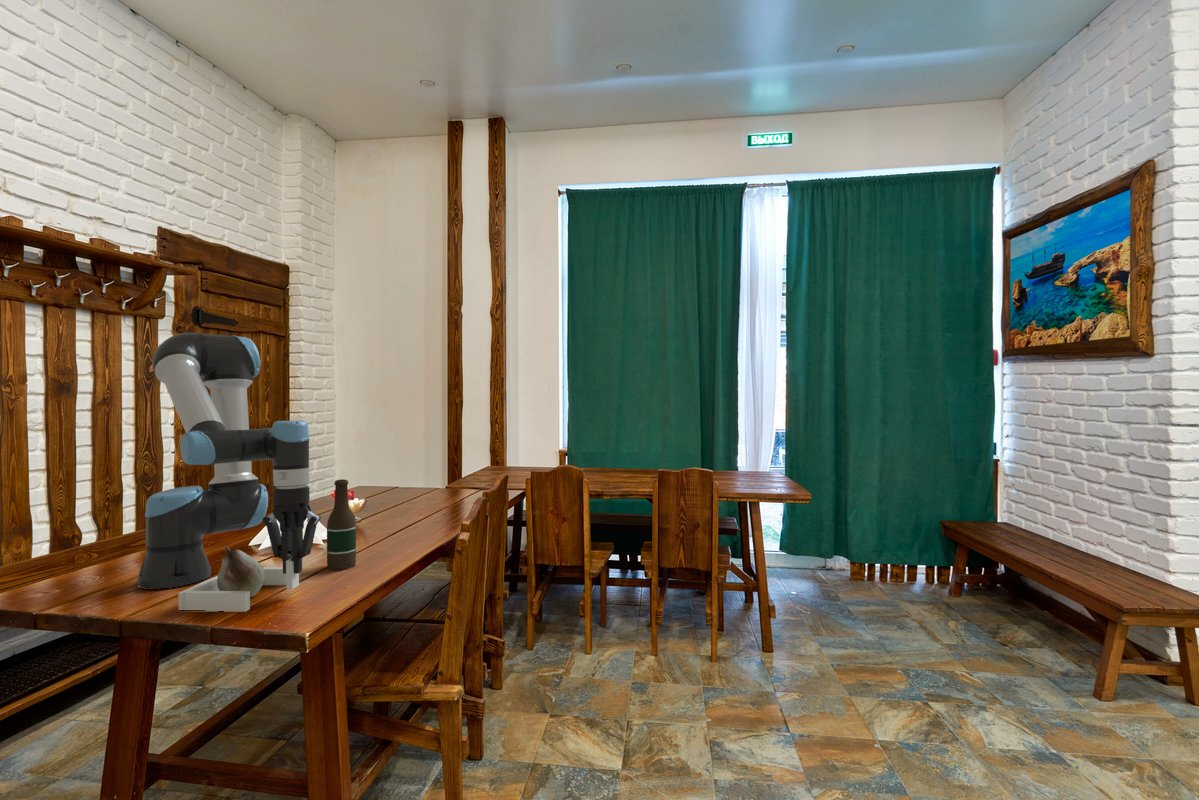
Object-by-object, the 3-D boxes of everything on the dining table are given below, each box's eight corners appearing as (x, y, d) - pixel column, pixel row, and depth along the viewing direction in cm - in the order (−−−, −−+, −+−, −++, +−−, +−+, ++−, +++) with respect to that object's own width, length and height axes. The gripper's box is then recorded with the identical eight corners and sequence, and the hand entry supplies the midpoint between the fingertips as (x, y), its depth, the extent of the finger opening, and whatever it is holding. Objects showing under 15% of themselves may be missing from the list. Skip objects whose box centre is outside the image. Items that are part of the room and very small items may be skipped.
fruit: (213, 596, 135) (213, 545, 135) (258, 587, 141) (258, 538, 141) (223, 607, 128) (222, 554, 127) (270, 597, 134) (270, 546, 134)
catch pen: (178, 611, 125) (178, 592, 125) (236, 582, 144) (236, 567, 144) (245, 611, 125) (245, 593, 125) (294, 583, 144) (294, 567, 144)
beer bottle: (349, 570, 154) (348, 482, 154) (320, 570, 155) (320, 482, 154) (361, 562, 162) (361, 478, 162) (334, 562, 162) (334, 478, 162)
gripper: (254, 489, 130) (255, 592, 130) (309, 488, 130) (311, 592, 130) (274, 484, 138) (275, 582, 138) (326, 483, 137) (328, 582, 137)
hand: (292, 587), depth 134 cm, fingers closed
